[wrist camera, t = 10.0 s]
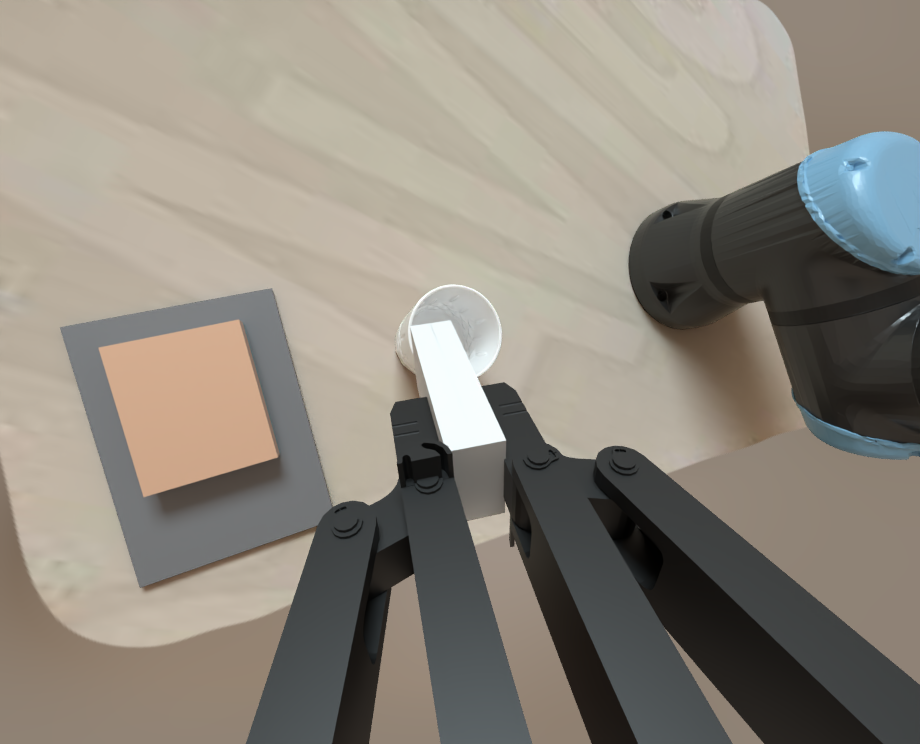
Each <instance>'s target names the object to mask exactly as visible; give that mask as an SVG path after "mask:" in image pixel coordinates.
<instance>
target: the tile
mask: <svg viewBox="0 0 920 744" xmlns="http://www.w3.org/2000/svg"><path fill="white" fill-rule="evenodd" d="M99 351H100V355H101V358H102V361H103V365H104V368H105V371H106V375H107V378H108V381H109V385H110V388H111V391H112V394H113V398H114V401H115V404H116V408H117V411H118V414H119V418H120V421H121V424H122V427H123V431H124V434H125V437H126V441H127V444H128V447H129V451H130V454H131V457H132V460H133V464H134V467H135V470H136V474H137V477H138V480H139V484H140V487H141V490H142V493H143V497H146V496H150V495H153V494H156V493H160V492H163V491H166V490H170V489H173V488H177V487H180V486H183V485H187V484H190V483H193V482H197V481H200V480H204V479H207V478H210V477H214V476H217V475H220V474H224V473H227V472H230V471H234V470H237V469H241V468H244V467H247V466H251V465H254V464H257V463H261V462H264V461H268V460H271V459H274V458H278V456H279V454H280V450H279V446H278V443H277V439H276V436H275V432H274V429H273V425H272V422H271V418H270V414H269V411H268V407H267V404H266V400H265V397H264V393H263V390H262V386H261V382H260V379H259V375H258V372H257V368H256V365H255V361H254V358H253V354H252V351H251V347H250V343H249V340H248V336H247V333H246V329H245V326H244V323H243V322H242V321H240V320H234V321H229V322H224V323H219V324H214V325H209V326H204V327H199V328H194V329H189V330H184V331H179V332H174V333H169V334H164V335H159V336H154V337H149V338H144V339H139V340H134V341H129V342H124V343H119V344H114V345H109V346H104V347H99Z"/></svg>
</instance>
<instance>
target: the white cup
mask: <svg viewBox="0 0 920 744" xmlns="http://www.w3.org/2000/svg"><path fill="white" fill-rule="evenodd" d="M449 320H451V322H452V324H453V326H454V328H455V331H456V333H457V335H458V337H459V339H460V341H461V344H462V346H463V348H464V350H465V352H466V354H467V357H468V359H469V361H470V363H471V365H472V367H473V370H474V372H475V374H476V376H477V378H478V377H480V376H481V375H483V374H484V373H485V372H486V371H487V370H488V369H489V368H490V367H491V366H492V365H493V363H494V362H495V360H496V358H497V356H498V354H499V351H500V348H501V343H502V328H501V323H500V319H499V317H498V314H497V312H496V310H495V309H494V307H493V305H492V304H491V303H490V302H489V301H488V299H487V298H486V297H484V296H483V295H482V294H481V293H479V292H478V291H476V290H474V289H472V288H469V287H466V286H462V285H445V286H441V287H438V288H435V289H433V290H432V291H430V292H428V293H427V294H426V295H424V296H423V297H422V298H421V299H420V300H419V302H418V303H417V304H416V305H415V306H414V307H413V308H412V309H411V310H410V311H409V313H408V314H407V315H406V317H405V318H404V320H403V321H402V322H401V325H400V327H399V329H398V331H397V333H396V335H395V345H396V353H397V355H398V357H399V359H400V361H401V363H402V365H403V366H405V367H406V368H407V369H409V370H410V371H411V372H412V373H414V374H416V372H415V364H414V355H413V347H412V339H411V331H410V326H414V325H421V324H428V323H435V322H442V321H449Z"/></svg>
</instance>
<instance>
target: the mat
mask: <svg viewBox="0 0 920 744" xmlns="http://www.w3.org/2000/svg"><path fill="white" fill-rule="evenodd" d="M234 320H240V321H242V322H243V323H244V326H245V329H246V333H247V336H248V340H249V343H250V347H251V351H252V354H253V358H254V361H255V365H256V368H257V372H258V375H259V379H260V382H261V386H262V390H263V393H264V397H265V400H266V404H267V407H268V411H269V414H270V418H271V422H272V425H273V429H274V432H275V436H276V439H277V443H278V446H279V450H280V454H279V456H278V458H274V459H271V460H268V461H264V462H261V463H257V464H254V465H251V466H247V467H244V468H241V469H237V470H234V471H230V472H227V473H224V474H220V475H217V476H214V477H210V478H207V479H204V480H200V481H197V482H193V483H190V484H187V485H183V486H180V487H177V488H173V489H170V490H166V491H163V492H160V493H156V494H153V495H150V496H146V497H143V493H142V490H141V487H140V484H139V480H138V477H137V474H136V470H135V467H134V464H133V460H132V457H131V454H130V451H129V447H128V444H127V441H126V437H125V434H124V431H123V427H122V424H121V421H120V418H119V414H118V411H117V408H116V404H115V401H114V398H113V394H112V391H111V388H110V385H109V381H108V378H107V375H106V371H105V368H104V365H103V361H102V358H101V355H100V351H99V347H104V346H109V345H114V344H119V343H124V342H129V341H134V340H139V339H144V338H149V337H154V336H159V335H164V334H169V333H174V332H179V331H184V330H189V329H194V328H199V327H204V326H209V325H214V324H219V323H224V322H229V321H234ZM60 329H61V333H62V336H63V339H64V342H65V346H66V349H67V352H68V355H69V359H70V362H71V365H72V368H73V372H74V375H75V378H76V381H77V385H78V388H79V391H80V394H81V398H82V401H83V404H84V407H85V411H86V414H87V417H88V420H89V424H90V427H91V430H92V433H93V437H94V440H95V443H96V446H97V450H98V453H99V456H100V459H101V463H102V466H103V469H104V472H105V476H106V479H107V482H108V485H109V489H110V492H111V495H112V499H113V502H114V505H115V508H116V512H117V515H118V518H119V521H120V525H121V528H122V531H123V534H124V538H125V541H126V544H127V547H128V551H129V554H130V557H131V560H132V564H133V567H134V570H135V573H136V577H137V580H138V583H139V586H140V588H141V587H144V586H147V585H149V584H152V583H155V582H158V581H161V580H164V579H166V578H169V577H172V576H175V575H178V574H181V573H184V572H186V571H189V570H192V569H195V568H198V567H201V566H204V565H206V564H209V563H212V562H215V561H218V560H221V559H224V558H226V557H229V556H232V555H235V554H238V553H241V552H243V551H246V550H249V549H252V548H255V547H258V546H261V545H263V544H266V543H269V542H272V541H275V540H278V539H281V538H283V537H286V536H289V535H292V534H295V533H298V532H301V531H303V530H306V529H309V528H312V527H315V526H318V524H319V522H320V520H321V518H322V517H323V515H324V514H325V513H326V512H328V511H329V510H330V509H331V508H332V504H331V500H330V497H329V493H328V489H327V486H326V482H325V478H324V475H323V471H322V468H321V464H320V460H319V457H318V453H317V449H316V446H315V442H314V439H313V435H312V431H311V428H310V424H309V421H308V417H307V413H306V410H305V406H304V402H303V399H302V395H301V392H300V388H299V384H298V381H297V377H296V373H295V370H294V366H293V363H292V359H291V355H290V352H289V348H288V345H287V341H286V337H285V334H284V330H283V326H282V323H281V319H280V316H279V312H278V308H277V305H276V301H275V297H274V294H273V290H272V288H271V289H265V290H260V291H254V292H249V293H244V294H238V295H233V296H227V297H222V298H217V299H211V300H206V301H200V302H195V303H190V304H184V305H179V306H173V307H168V308H162V309H157V310H152V311H146V312H141V313H135V314H130V315H125V316H119V317H114V318H108V319H103V320H98V321H92V322H87V323H81V324H76V325H70V326H65V327H60Z"/></svg>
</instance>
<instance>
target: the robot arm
mask: <svg viewBox="0 0 920 744" xmlns="http://www.w3.org/2000/svg"><path fill="white" fill-rule="evenodd" d="M629 270H630V277H631V282H632V285H633V288H634V291H635V293H636V296H637V298H638V299H639V301H640V303H641V304H642V306H643V307H644V308H645V310H646V311H647V312H648V313H649V314H650V315H651V316H652V317H653V318H654V319H656V320H657V321H658V322H660V323H662V324H664V325H666V326H668V327H672V328H676V329H688V328H695V327H701V326H705V325H708V324H711V323H713V322H715V321H717V320H719V319H721V318H723V317H724V316H726V315H728V314H730V313H732V312H733V311H735V310H737V309H739V308H741V307H742V306H744V305H746V304H748V303H753V302H758V301H764V303H765V306H766V308H767V311H768V315H769V318H770V321H771V324H772V327H773V330H774V333H775V336H776V339H777V343H778V346H779V349H780V352H781V355H782V358H783V361H784V364H785V367H786V370H787V373H788V376H789V379H790V382H791V385H792V397H793V400H794V401H795V402H796V405H797V406H798V408H799V409H800V411H801V413H802V416H803V418H804V421H805V423H806V425H807V427H808V428H809V430H810V431H811V432H812V433H813V434H814V435H815V436H816V437H817V438H819V439H820V440H821V441H823V442H825V443H826V444H829V445H830V446H833V447H835V448H837V449H840V450H843V451H846V452H849V453H854V454H857V455H862V456H867V457H874V458H881V459H898V460H902V459H905V460H907V459H909V457H910V456H919V457H920V142H918V141H917V140H916V139H914V138H912V137H910V136H907V135H904V134H901V133H896V132H874V133H869V134H865V135H862V136H859V137H857V138H854V139H852V140H849V141H847V142H845V143H842V144H840V145H837V146H835V147H832V148H826V149H822V150H819V151H817V152H815V153H813V154H811V155H809V156H807V157H806V158H805V160H804V161H802V162H800V163H798V164H795V165H793V166H791V167H789V168H786V169H784V170H782V171H780V172H777V173H775V174H773V175H771V176H768V177H766V178H764V179H762V180H759V181H757V182H755V183H753V184H750V185H748V186H746V187H744V188H741V189H739V190H737V191H735V192H733V193H731V194H728V195H726V196H724V197H721V198H713V199H701V200H690V201H681V202H676V203H673V204H670V205H668V206H666V207H664V208H662V209H660V210H658V211H656V212H654V213H652V214H651V215H650V216H648V217H647V218H646V219H645V220H644V221H643V222H642V224H641V225H640V226H639V228H638V230H637V231H636V233H635V235H634V238H633V241H632V244H631V248H630V255H629ZM410 331H411V339H412V347H413V355H414V364H415V372H416V380H417V388H418V392H419V396H420V398H416V399H411V400H405V401H399V402H395V404H394V406H393V408H392V411H391V413H390V416H391V422H392V429H393V436H394V442H395V449H396V455H397V467H398V473H399V479H398V482H397V485H396V486H395V488H394V489H393V491H392V492H391V493H390V494H388V495H387V496H386V497H384V498H383V499H381V500H380V501H378V502H376V503H374V504H372V505H370V506H369V505H367V504H365V503H364V502H358V501H349V502H343V503H340V504H338V505H336V506H334V507H332V508H331V509H330V510H329V511H328V512H326V513H325V514H324V515H323V517H322V518H321V520H320V522H319V524H318V526H317V529H316V532H315V535H314V538H313V541H312V544H311V547H310V550H309V554H308V557H307V560H306V563H305V566H304V569H303V572H302V575H301V578H300V581H299V584H298V587H297V590H296V593H295V596H294V599H293V602H292V605H291V608H290V611H289V614H288V618H287V620H286V624H285V627H284V630H283V633H282V636H281V639H280V642H279V645H278V648H277V651H276V654H275V657H274V660H273V663H272V666H271V669H270V672H269V676H268V678H267V682H266V684H265V688H264V691H263V694H262V697H261V700H260V703H259V706H258V709H257V712H256V715H255V718H254V721H253V724H252V727H251V730H250V733H249V736H248V739H247V742H246V744H369V739H370V732H371V725H372V718H373V711H374V704H375V698H376V691H377V684H378V677H379V670H380V663H381V656H382V650H383V643H384V635H385V629H386V622H387V615H388V607H389V601H390V595H391V587H392V586H394V585H396V584H397V583H399V582H401V581H402V580H404V579H406V578H407V577H409V576H411V575H412V574H415V581H416V587H417V594H418V600H419V607H420V613H421V620H422V626H423V633H424V639H425V646H426V652H427V658H428V664H429V671H430V678H431V684H432V691H433V697H434V704H435V710H436V717H437V723H438V729H439V736H440V742H441V744H532V741H531V738H530V735H529V731H528V728H527V724H526V721H525V718H524V714H523V711H522V708H521V704H520V700H519V697H518V694H517V690H516V687H515V684H514V680H513V677H512V673H511V670H510V666H509V663H508V659H507V656H506V653H505V649H504V646H503V642H502V639H501V636H500V632H499V629H498V625H497V622H496V618H495V615H494V612H493V608H492V605H491V601H490V598H489V595H488V591H487V588H486V584H485V581H484V578H483V574H482V571H481V567H480V564H479V560H478V557H477V554H476V550H475V547H474V543H473V540H472V536H471V533H470V530H469V526H468V523H467V521H469V520H474V519H478V518H483V517H487V516H492V515H496V514H501V513H505V502H506V505H507V507H508V510H509V512H510V534H509V535H510V536H509V540H510V547H513V546H514V540H515V541H516V544H517V547H518V550H519V552H520V555H521V558H522V560H523V563H524V566H525V568H526V571H527V573H528V576H529V579H530V581H531V584H532V587H533V589H534V591H535V595H536V597H537V600H538V603H539V605H540V608H541V611H542V613H543V616H544V618H545V621H546V624H547V626H548V629H549V632H550V634H551V637H552V640H553V642H554V645H555V647H556V650H557V653H558V656H559V658H560V661H561V663H562V666H563V669H564V671H565V674H566V677H567V679H568V682H569V685H570V687H571V690H572V693H573V695H574V698H575V701H576V703H577V705H578V709H579V711H580V714H581V716H582V719H583V722H584V724H585V727H586V730H587V732H588V735H589V738H590V740H591V743H592V744H732V742H731V740H730V739H729V737H728V735H727V734H726V732H725V730H724V728H723V727H722V725H721V724H720V722H719V720H718V718H717V717H716V715H715V713H714V712H713V710H712V708H711V707H710V705H709V703H708V701H707V700H706V698H705V696H704V695H703V693H702V691H701V689H700V688H699V686H698V684H697V683H696V681H695V679H694V678H693V676H692V674H691V673H690V671H689V669H688V667H687V666H686V664H685V662H684V661H683V659H682V657H681V656H680V654H679V652H678V651H677V649H676V647H675V645H674V644H673V642H672V640H671V639H670V637H669V635H668V634H667V632H666V630H667V631H668V632H669V633H670V634H671V636H672V637H673V638H674V639H675V640H676V641H677V643H678V644H679V645H680V646H681V647H682V648H683V649H684V651H685V652H686V653H687V654H688V655H689V657H690V658H691V659H692V660H693V661H694V662H695V664H696V665H697V666H698V667H699V668H700V669H701V671H702V672H703V673H704V674H705V675H706V676H707V678H708V679H709V680H710V681H711V682H712V683H713V684H714V686H715V687H716V688H717V689H718V690H719V691H720V693H721V694H722V695H723V696H724V697H725V698H726V700H727V701H728V702H729V703H730V704H731V705H732V707H734V709H735V710H736V711H737V712H738V714H739V715H740V716H741V717H742V718H743V719H744V721H745V722H746V723H747V724H748V725H749V726H750V727H751V729H752V730H753V731H754V732H755V733H756V735H757V736H758V737H759V738H760V739H761V740H762V741H763V743H764V744H920V685H919V684H918V683H917V682H916V681H914V680H913V679H912V678H911V677H910V676H908V675H907V674H906V673H905V672H904V671H902V670H901V669H900V668H899V667H898V666H896V665H895V664H894V663H893V662H892V661H890V660H889V659H888V658H887V657H885V656H884V655H883V654H882V653H881V652H879V651H878V650H877V649H876V648H875V647H874V646H872V645H871V644H870V643H869V642H867V641H866V640H865V639H864V638H862V637H861V636H860V635H859V634H858V633H857V632H855V631H854V630H853V629H852V628H850V627H849V626H848V625H847V624H846V623H845V622H843V621H842V620H841V619H840V618H838V617H837V616H836V615H835V614H834V613H833V612H831V611H830V610H829V609H828V608H827V607H825V606H824V605H823V604H822V603H821V602H819V601H818V600H817V599H816V598H814V597H813V596H812V595H811V594H810V593H808V592H807V591H806V590H805V589H804V588H802V587H801V586H800V585H799V584H798V583H796V582H795V581H794V580H793V579H792V578H790V577H789V576H788V575H787V574H786V573H784V572H783V571H782V570H781V569H779V568H778V567H777V566H776V565H775V564H773V563H772V562H771V561H770V560H768V559H767V558H766V557H765V556H764V555H763V554H762V553H760V552H759V551H758V550H757V549H755V548H754V547H753V546H752V545H751V544H749V543H748V542H747V541H746V540H745V539H743V538H742V537H741V536H740V535H739V534H737V533H736V532H735V531H734V530H733V529H731V528H730V527H729V526H728V525H727V524H725V523H724V522H723V521H722V520H720V519H719V518H718V517H717V516H716V515H715V514H713V513H712V512H711V511H710V510H708V509H707V508H706V507H705V506H704V505H702V504H701V503H700V502H699V501H698V500H696V499H695V498H694V497H693V496H692V495H690V494H689V493H688V492H687V491H685V490H684V489H683V488H682V487H681V486H680V485H678V484H677V483H676V482H675V481H674V480H672V479H671V478H670V477H669V476H668V475H666V474H665V473H664V472H663V471H662V470H660V469H659V468H658V467H657V466H656V465H654V464H653V463H652V462H651V461H650V460H648V459H647V458H646V457H645V456H643V455H642V454H640V453H639V452H637V451H636V450H634V449H630V448H627V447H624V446H611V447H607V448H604V449H603V450H602V451H600V452H599V453H598V455H597V458H596V460H593V459H576V458H569V457H566V456H563V455H562V454H561V453H560V452H559V451H558V450H557V449H556V448H554V447H553V446H551V445H549V444H546V443H545V441H544V440H543V438H542V436H541V434H540V433H539V431H538V429H537V427H536V425H535V424H534V422H533V420H532V418H531V417H530V415H529V413H528V412H527V410H526V408H525V406H524V404H523V403H522V401H521V399H520V397H519V396H518V394H517V392H516V390H514V389H513V388H511V387H510V386H509V385H507V384H506V383H498V384H492V385H486V386H481V385H480V383H479V380H478V378H477V376H476V374H475V372H474V370H473V367H472V365H471V363H470V361H469V359H468V357H467V354H466V352H465V350H464V348H463V346H462V344H461V341H460V339H459V337H458V335H457V333H456V331H455V328H454V326H453V324H452V322H451V320H449V321H442V322H435V323H428V324H421V325H414V326H410ZM663 626H664V627H663ZM665 629H666V630H665Z"/></svg>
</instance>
